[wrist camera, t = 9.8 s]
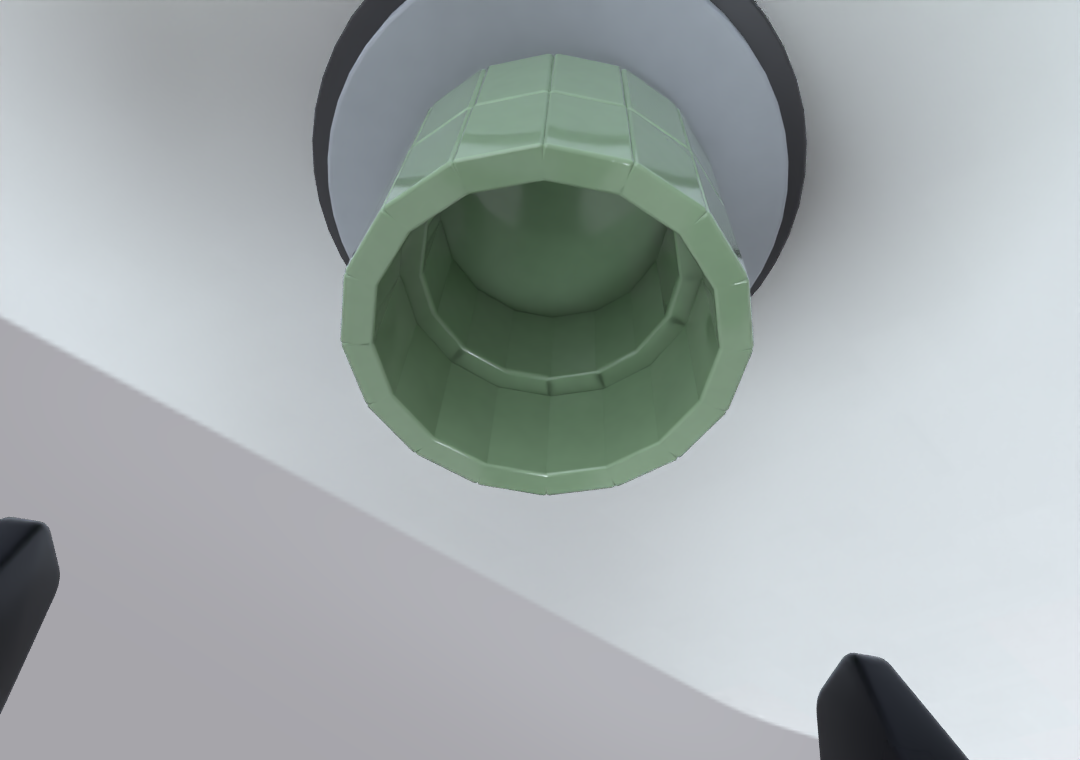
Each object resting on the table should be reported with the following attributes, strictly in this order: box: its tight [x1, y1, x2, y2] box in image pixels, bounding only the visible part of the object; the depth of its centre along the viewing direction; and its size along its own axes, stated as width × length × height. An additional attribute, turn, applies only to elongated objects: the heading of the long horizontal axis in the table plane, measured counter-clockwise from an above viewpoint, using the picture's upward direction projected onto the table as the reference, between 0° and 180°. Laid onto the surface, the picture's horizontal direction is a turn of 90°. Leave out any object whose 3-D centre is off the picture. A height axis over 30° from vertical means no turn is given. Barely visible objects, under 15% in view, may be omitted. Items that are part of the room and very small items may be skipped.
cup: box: [340, 54, 754, 495], centre depth 14 cm, size 6×6×5 cm
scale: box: [312, 0, 807, 296], centre depth 17 cm, size 10×10×2 cm
